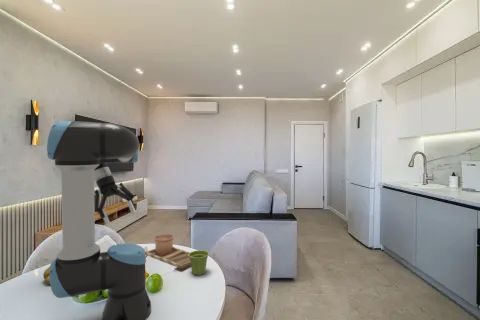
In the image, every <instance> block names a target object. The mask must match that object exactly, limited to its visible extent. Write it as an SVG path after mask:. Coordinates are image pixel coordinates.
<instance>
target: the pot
mask: <svg viewBox="0 0 480 320" xmlns="http://www.w3.org/2000/svg"><path fill="white" fill-rule="evenodd" d="M174 237H175V236H174V235H173V234H170V233H164V234H159V235H155V236H154V242H155V248H154V249H155V252H156V255H157V256H167V255H169V254H172V253H173V247H174V245H173V244H174V242H173V241H174Z"/></svg>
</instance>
